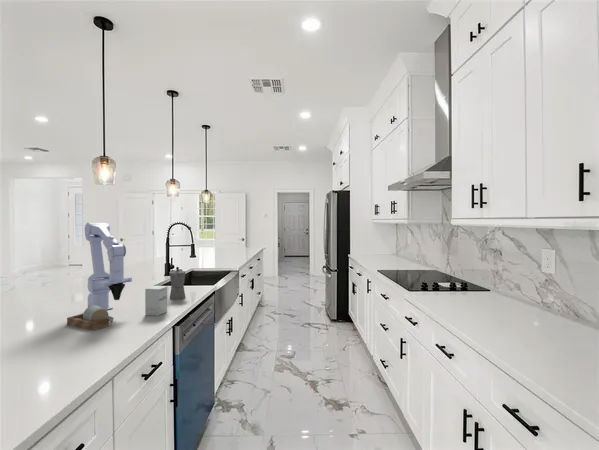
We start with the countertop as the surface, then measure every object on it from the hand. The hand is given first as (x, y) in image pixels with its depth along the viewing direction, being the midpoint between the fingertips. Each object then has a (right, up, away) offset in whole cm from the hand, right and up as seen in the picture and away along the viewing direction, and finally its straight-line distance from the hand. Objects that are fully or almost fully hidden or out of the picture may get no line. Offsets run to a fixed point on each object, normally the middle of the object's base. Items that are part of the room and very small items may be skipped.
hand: (116, 299), depth 153 cm
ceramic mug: (-2, -8, -10) cm, 13 cm away
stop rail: (-6, -8, -12) cm, 16 cm away
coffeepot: (+13, -8, +39) cm, 42 cm away
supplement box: (+16, -8, +6) cm, 19 cm away
